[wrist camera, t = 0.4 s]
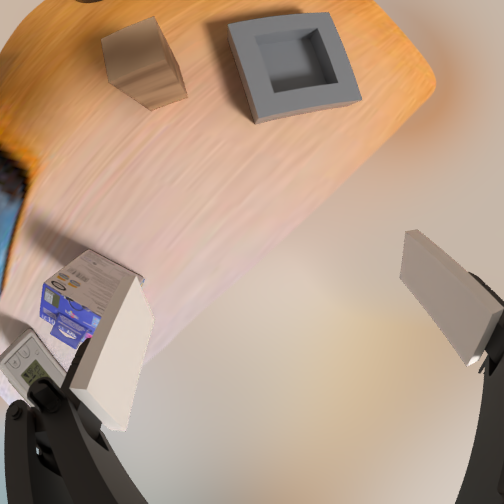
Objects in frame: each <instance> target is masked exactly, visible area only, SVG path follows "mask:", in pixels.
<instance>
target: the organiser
mask: <svg viewBox="0 0 504 504" xmlns="http://www.w3.org/2000/svg"><path fill="white" fill-rule="evenodd" d="M227 39H228V42H229V45H230V48H231V51H232V54H233V57H234V60H235V63H236V66H237V69H238V72H239V75H240V78H241V81H242V84H243V88H244V91H245V94H246V97H247V100H248V103H249V107H250V110H251V113H252V116H253V120H254V123H255V124H259V123H263V122H267V121H271V120H275V119H280V118H284V117H289V116H294V115H299V114H304V113H309V112H314V111H320V110H326V109H332V108H338V107H345V106H349V105H351V104H354V103H356V102H358V101H361V100H362V97H361V94H360V91H359V88H358V85H357V82H356V79H355V76H354V73H353V70H352V67H351V65H350V62H349V59H348V57H347V54H346V51H345V49H344V46H343V44H342V41H341V39H340V37H339V34H338V32H337V30H336V27H335V25H334V23H333V20H332V18H331V16H330V14H329V12H323V13H303V14H290V15H281V16H272V17H265V18H258V19H252V20H246V21H241V22H236V23H231V24H228V31H227Z"/></svg>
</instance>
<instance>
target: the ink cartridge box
mask: <svg viewBox="0 0 504 504" xmlns="http://www.w3.org/2000/svg"><path fill="white" fill-rule="evenodd" d="M135 275H137V274H135V273H133V272H131V271H129V270H127V269H126V268H124V267H122V266H120V265H118V264H116V263H114V262H112V261H110V260H108V259H106V258H104V257H103V256H101V255H99V254H97V253H95V252H93V251H92V250H90V249H88V250H86V251H85V252H84V253H82V254H81V255H80V256H78V257H77V258H76V259H74V260H73V261H71V262H70V263H69V264H68V265H66V266H65V267H64V268H62V269H61V270H60V271H58V272H57V273H56V274H54V275H53V276H52V277H51V278H49V279H48V280H47V281H45V282H44V284H43V288H42V297H41V305H40V317H41V318H42V319H44V320H46V321H47V322H49V323H51V324H52V325H54V326H53V328H52V331H51V332H50V334H51V335H53V336H54V337H56V338H58V339H59V340H61V341H62V342H64V343H66V344H67V345H69V346H71V347H72V348H74V349H77V347H78V345H79V344H80V342H84V341H85V340H86V339H87V338H92V335H93V333H94V331H95V329H96V327H97V325H98V323H99V321H100V319H101V317H102V315H103V313H104V311H105V309H106V308H107V306H108V304H109V302H110V300H111V298H112V296H113V294H114V292H115V291H116V289H117V287H118V285H119V283H120V282H121V280H122V278H123V277H128V276H135ZM137 278H138V280H139V283H140V285H141V288H142V285H143V283H144V280H145V279H144V278H143V277H141V276H139V275H137ZM58 328H59V329H60V330H62V331H64V332H65V333H67V334H69V335H71V336H72V337H74V338H76V339H72V338H69V337H65V336H64V335H63V334H62V333H61V332H60V331H59V329H58Z"/></svg>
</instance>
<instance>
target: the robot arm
mask: <svg viewBox="0 0 504 504" xmlns="http://www.w3.org/2000/svg"><path fill="white" fill-rule="evenodd" d="M77 1H79V2H83V3H91V2H97V1H101V0H77ZM400 279H401V280H402V281H403V283H404V284H405V285H406V286H407V287H408V289H409V290H410V291H411V292H412V293H413V295H414V296H415V297H416V298H417V300H418V301H419V302H420V304H421V305H422V306H423V307H424V309H425V310H426V311H427V312H428V314H429V315H430V316H431V317H432V319H433V320H434V322H435V323H436V324H437V326H438V327H439V328H440V330H441V331H442V332H443V334H444V335H445V336H446V338H447V339H448V340H449V342H450V343H451V345H452V346H453V348H454V349H455V350H456V352H457V353H458V355H459V356H460V358H461V359H462V361H463V362H464V364H465V365H466V366H469V365H471V364H473V363H474V362H476V361H478V360H479V359H480V357H481V355H482V354H483V352H484V350H485V351H486V352H487V353H488V355H487V357H486V359H485V361H484V362H483V364H482V366H481V367H480V369H479V372H478V373H481V371H482V370H483V368H484V367H485V372H484V384H483V394H482V402H481V408H480V414H479V420H478V426H477V431H476V435H475V440H474V444H473V448H472V453H471V456H470V460H469V464H468V467H467V471H466V474H465V477H464V480H463V483H462V486H461V489H460V491H459V494H458V497H457V500H456V502H455V504H504V301H503V300H502V299H501V298H500V297H499V296H498V295H497V294H496V293H495V292H494V291H493V290H491V288H490V287H489V286H488V285H485V283H484V282H483V281H482V280H481V279H480V278H479V277H478V276H476V275H474V274H472V273H470V272H467V271H466V270H465V269H464V268H463V267H461V266H460V265H459V264H458V263H457V262H456V261H455V260H454V259H452V258H451V257H450V256H449V255H448V254H447V253H445V252H444V251H443V250H442V249H441V248H439V247H438V246H437V245H436V244H435V243H434V242H432V241H431V240H430V239H429V238H427V237H426V236H425V235H424V234H422V233H421V232H420V231H419V230H411V231H406V232H405V240H404V250H403V258H402V266H401V272H400ZM154 321H155V318H154V316H153V314H152V311H151V309H150V307H149V304H148V302H147V300H146V297H145V295H144V293H143V290H142V288H141V285H140V283H139V280H138V278H137V275H135V276H128V277H123V278H122V280H121V282H120V283H119V285H118V287H117V289H116V291H115V292H114V294H113V296H112V298H111V300H110V302H109V304H108V306H107V308H106V309H105V311H104V313H103V315H102V317H101V319H100V321H99V323H98V325H97V327H96V329H95V331H94V333H93V335H92V338H87V339H86V340H85V341H84V342H83V343H82V344H81V345H80V346H79V348H78V350H77V352H76V354H75V358H74V359H73V361H72V363H71V364H72V365H70V367H69V370H68V372H67V374H66V376H65V379H64V381H63V383H62V386H61V388H59V387H58V386H57V385H56V383H55V382H54V381H53V380H52V379H51V378H49V377H41V378H38V379H37V380H35V381H34V382H33V383H32V384H31V386H30V387H29V389H28V392H27V399H28V400H29V401H30V402H31V403H32V404H33V405H34V406H35V407H30V406H29V405H28V404H27V403H26V402H25V401H23V400H16V401H14V402H13V403H11V405H10V406H9V408H8V409H7V413H6V420H5V443H4V444H5V449H4V451H5V453H4V455H5V478H6V490H7V498H8V504H148V502H147V501H146V500H145V498H144V497H143V496H142V494H141V493H140V492H139V490H138V489H137V487H136V486H135V484H134V483H133V482H132V480H131V479H130V477H129V475H128V474H127V473H126V471H125V469H124V468H123V466H122V464H121V463H120V461H119V460H118V458H117V456H116V455H115V453H114V451H113V449H112V448H111V446H110V444H109V442H108V440H107V439H106V437H105V435H104V433H103V432H102V431H101V430H100V428H101V424H102V423H103V424H104V425H105V426H106V427H107V428H108V429H109V430H115V431H125V432H126V430H127V426H128V421H129V416H130V411H131V408H132V403H133V399H134V395H135V391H136V386H137V382H138V379H139V375H140V371H141V367H142V363H143V360H144V356H145V352H146V349H147V345H148V342H149V338H150V335H151V331H152V328H153V325H154ZM36 447H37V448H38V449H39V455H38V454H37V453H36Z"/></svg>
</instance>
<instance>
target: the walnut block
mask: <svg viewBox="0 0 504 504" xmlns="http://www.w3.org/2000/svg"><path fill="white" fill-rule="evenodd" d="M101 43H102V49H103V55H104V60H105V66H106V71H107V76H108V81H109V83H110V84H112V85H113V86H115V87H116V88H118V89H119V90H121V91H122V92H124V93H125V94H127V95H128V96H130V97H131V98H133V99H134V100H136V101H137V102H139V103H140V104H142V105H143V106H145V107H146V108H148V109H149V110H150V111H152V110H155V109H157V108H160V107H163V106H165V105H168V104H171V103H174V102H177V101H180V100H182V99H185V98H188V96H187V92H186V89H185V85H184V82H183V78H182V75H181V71H180V68H179V65H178V63H177V61H176V59H175V57H174V55H173V53H172V51H171V49H170V47H169V45H168V43H167V41H166V39H165V37H164V35H163V33H162V31H161V29H160V27H159V25H158V23H157V21H156V19H155V17H154V16H153V17H151V18H148V19H145V20H143V21H140V22H138V23H135V24H133V25H130V26H128V27H126V28H123V29H121V30H119V31H117V32H115V33H112V34H110V35H108V36H106V37H104V38H102V39H101Z"/></svg>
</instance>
